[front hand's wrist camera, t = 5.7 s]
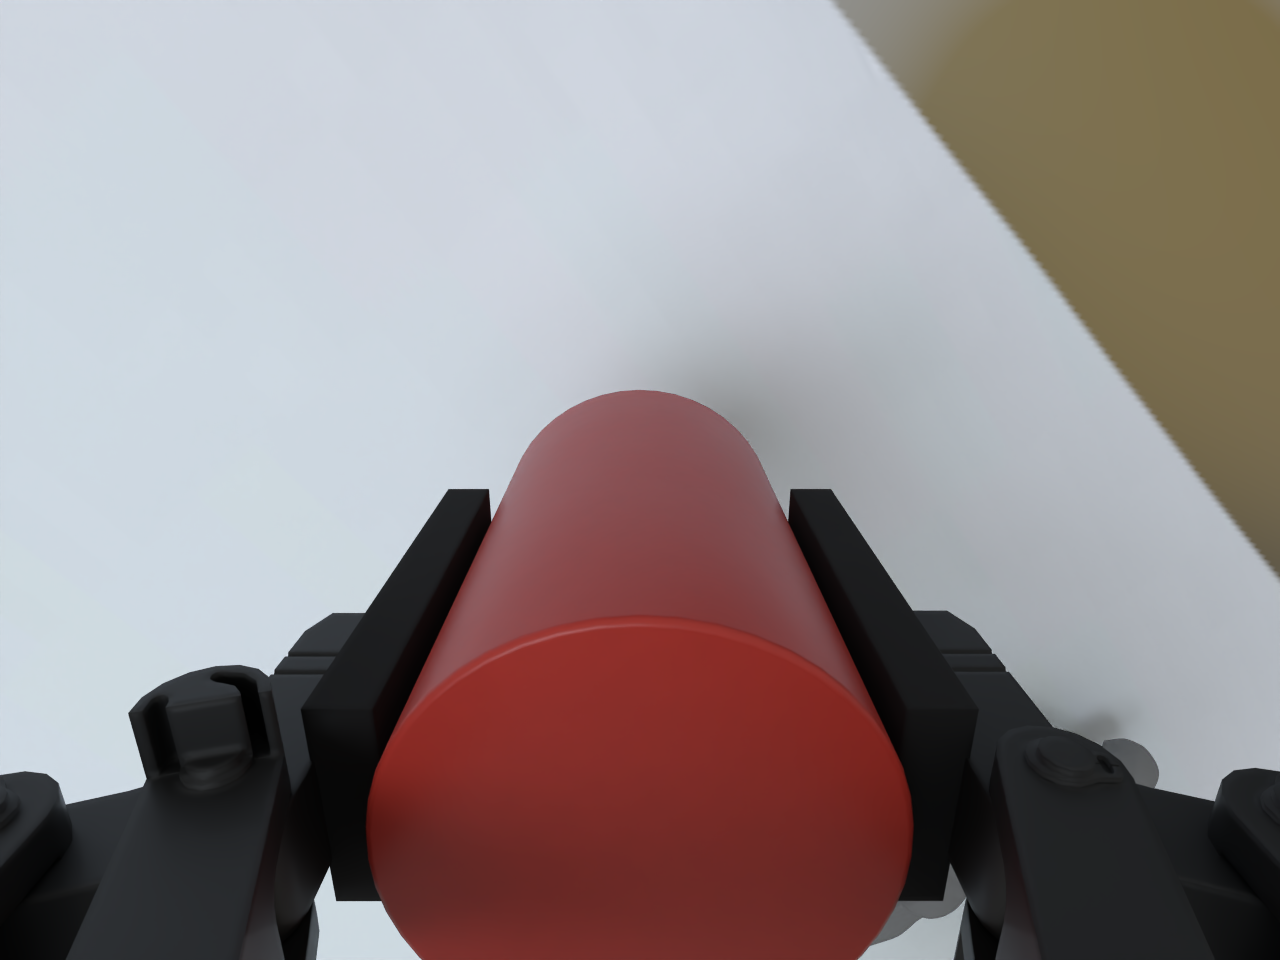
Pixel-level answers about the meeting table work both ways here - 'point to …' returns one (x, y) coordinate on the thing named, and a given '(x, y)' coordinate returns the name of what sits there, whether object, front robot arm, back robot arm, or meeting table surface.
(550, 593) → the canister
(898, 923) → the figurine
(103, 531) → the meeting table surface
